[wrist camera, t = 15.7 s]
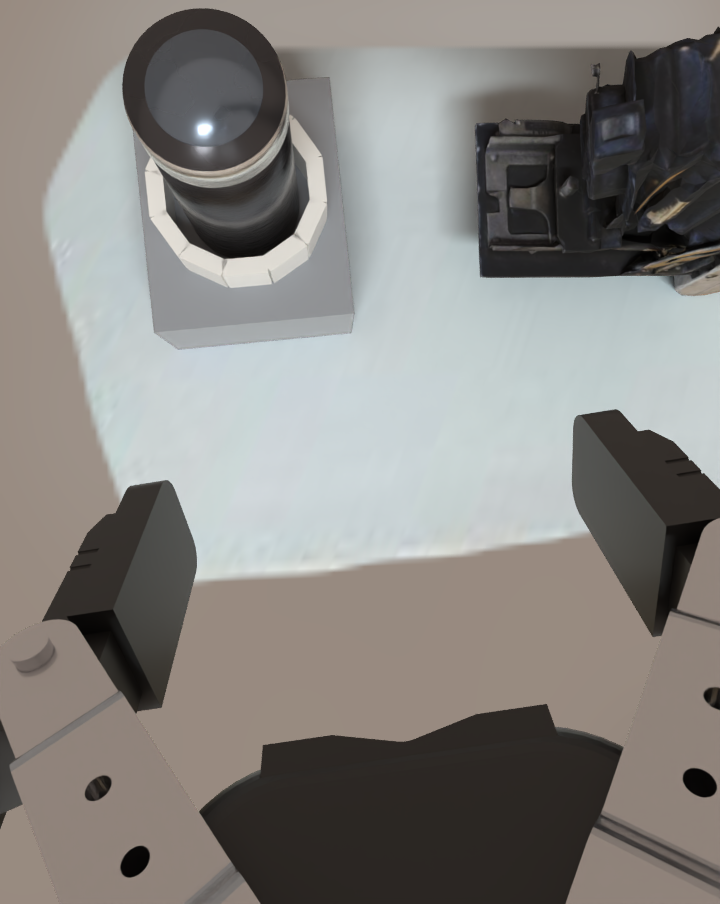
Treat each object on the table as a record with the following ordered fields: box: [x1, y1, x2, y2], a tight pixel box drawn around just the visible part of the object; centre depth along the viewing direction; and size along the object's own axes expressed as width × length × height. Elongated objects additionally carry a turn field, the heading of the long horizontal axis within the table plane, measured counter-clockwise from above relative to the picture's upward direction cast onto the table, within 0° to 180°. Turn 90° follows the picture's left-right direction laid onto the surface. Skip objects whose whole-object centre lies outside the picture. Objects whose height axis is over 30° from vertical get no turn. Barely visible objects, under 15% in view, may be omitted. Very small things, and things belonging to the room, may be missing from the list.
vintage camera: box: [475, 27, 720, 296], centre depth 28 cm, size 10×15×20 cm, turn 92°
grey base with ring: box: [133, 77, 354, 350], centre depth 33 cm, size 10×12×7 cm
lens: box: [122, 9, 299, 259], centre depth 26 cm, size 6×6×10 cm
